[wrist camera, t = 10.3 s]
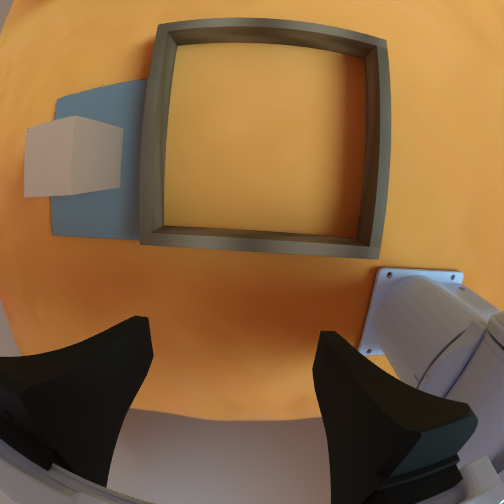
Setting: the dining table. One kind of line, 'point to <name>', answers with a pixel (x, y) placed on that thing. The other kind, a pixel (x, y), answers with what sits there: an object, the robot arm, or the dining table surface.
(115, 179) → the block
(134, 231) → the mat
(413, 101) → the dining table surface
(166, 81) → the grey square frame
